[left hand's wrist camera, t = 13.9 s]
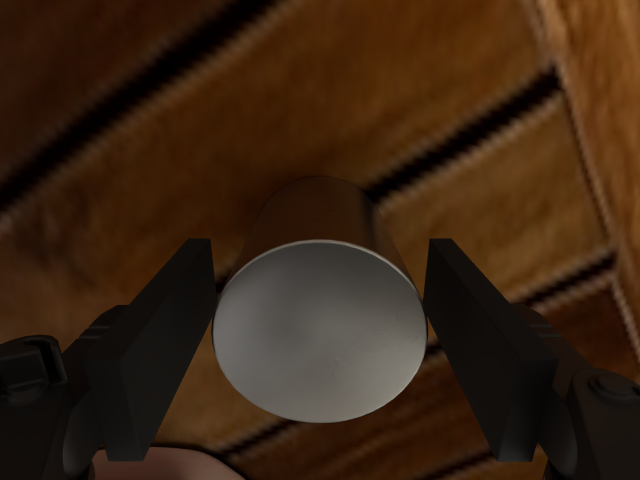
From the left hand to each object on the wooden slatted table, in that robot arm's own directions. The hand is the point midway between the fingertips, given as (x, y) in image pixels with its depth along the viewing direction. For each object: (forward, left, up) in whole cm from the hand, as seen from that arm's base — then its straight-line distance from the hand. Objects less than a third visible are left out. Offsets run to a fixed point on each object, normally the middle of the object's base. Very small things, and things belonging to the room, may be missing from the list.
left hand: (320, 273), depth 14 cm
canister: (0, 0, -3) cm, 3 cm away
